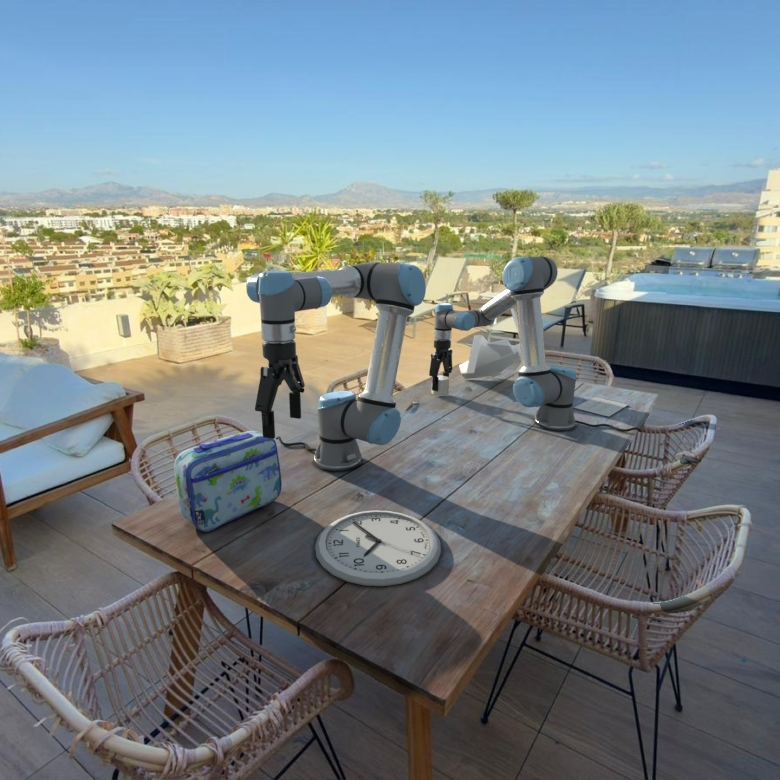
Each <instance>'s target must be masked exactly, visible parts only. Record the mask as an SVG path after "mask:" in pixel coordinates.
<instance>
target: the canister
mask: <svg viewBox="0 0 780 780" xmlns="http://www.w3.org/2000/svg"><path fill="white" fill-rule="evenodd" d="M437 377H438V391H433V390H432V389H431V390H430V391H431V392H430V393H431V394H432V395H434V396H439V397H443V396H448V395H449V390H450V376H449V377H447V376H443V374H442V375H441V374H438V376H437Z"/></svg>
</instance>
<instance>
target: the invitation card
mask: <svg viewBox="0 0 780 780" xmlns="http://www.w3.org/2000/svg"><path fill="white" fill-rule="evenodd" d="M628 406H629V404H627V403H623V402H618V401H614V400H609V399H605V398H601V397H596V396H593V397H592V398H590V399H588V400H586V401H584V402H582V403H580V404H578V405H575V406H574V407H573V409H575V410H581V411H584V412H587V413H593V414H596V415H600V416H604V417H608V418H609V417H611V416H613V415H614V414H616V413H617V412H619V411H621V410H623V409H624V408H626V407H628Z"/></svg>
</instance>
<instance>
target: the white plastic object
mask: <svg viewBox="0 0 780 780" xmlns="http://www.w3.org/2000/svg"><path fill="white" fill-rule="evenodd" d="M510 312H511V316H512V319H513V321H514V325H515V328H516V330H517V334H518V335H519V331H518V320H517V311H515V309H514V307H512V308H511V309H510ZM471 343H472V344H471V348H470V353H469V358H468V360H467V361H465V362H463V363H460V364H459V365H458V367H459V371H460V374H461V376H462V377H463V379H464V380H469V379H479V378H487V377H491V378H492V379H493V378H496V377H498V376H501V375H502V374H501V373H502V372H503V371H505V370H506V369H508V368H509V367H510V366H512V365H514V364H515V363H517V362H518V361H519V360H520V361H521V352H520V342H519V343H517V344H515V345H513V344H511V342H510V341H509V340H508V338H504V339H500V340H495V341H491V342H490V341H488V340H487V338H485V337H484V335H482V334H474V335H473V340H472V342H471Z"/></svg>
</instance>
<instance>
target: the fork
mask: <svg viewBox="0 0 780 780" xmlns="http://www.w3.org/2000/svg"><path fill="white" fill-rule="evenodd" d="M420 399H421V397H420V396H415V397H414V398H413V400H412V404H410V405H408V407H407V408H406V410H405V411H409V410H411V409H412V408H413V406H414V405H415V404H419V402H420Z"/></svg>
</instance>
